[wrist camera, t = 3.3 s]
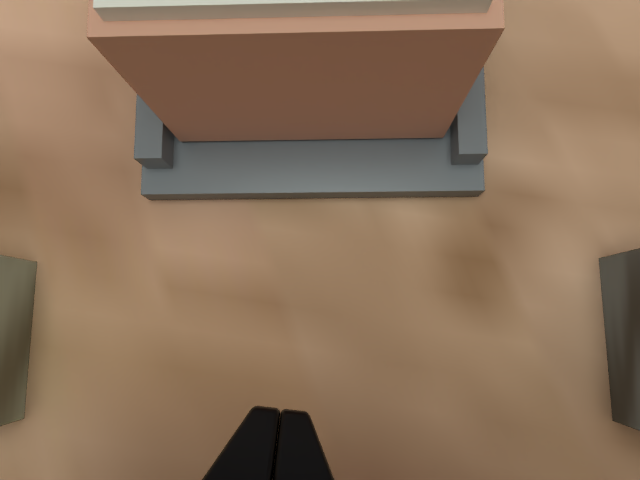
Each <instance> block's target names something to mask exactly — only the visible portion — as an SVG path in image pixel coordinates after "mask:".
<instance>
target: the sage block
mask: <svg viewBox="0 0 640 480" xmlns="http://www.w3.org/2000/svg"><path fill="white" fill-rule="evenodd" d="M36 269H37V262H34V261H29V260H24V259H19V258H13V257H8V256H3V255H0V426H2V425H5V424H8V423H11V422H14V421H18V420H21V419H24V413H25V401H26V389H27V377H28V365H29V353H30V341H31V329H32V317H33V305H34V293H35V281H36Z"/></svg>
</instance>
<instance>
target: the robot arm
mask: <svg viewBox="0 0 640 480" xmlns="http://www.w3.org/2000/svg"><path fill="white" fill-rule="evenodd" d="M279 420H280V423H279ZM278 428H279V431H278ZM277 437H278V439H277ZM276 445H277V447H276ZM275 453H276V455H275ZM274 461H275V463H274ZM273 470H274V471H273ZM272 478H273V479H272ZM202 480H334V478H333V475H332V473H331V470H330V467H329V465H328V462H327V459H326V457H325V454H324V452H323V449H322V446H321V444H320V441H319V438H318V436H317V433H316V430H315V428H314V425H313V423H312V420H311V417H310V415H309V414H308V413H307V412H305V411H298V410H289V409H284V410H282V412H281V415H280V411H279V409H277V408H272V407H263V406H255V407H253V408H252V409H251V410H250V411H249V413H248V414H247V416H246V417H245V419H244V420H243V422H242V423H241V424H240V426H239V427H238V429H237V430H236V432H235V433H234V435H233V436H232V437H231V439H230V440H229V442H228V443H227V445H226V446H225V447H224V449H223V450H222V452H221V453H220V455H219V456H218V458H217V459H216V460H215V462H214V463H213V465H212V466H211V468H210V469H209V470H208V472H207V473H206V475H205V476H204V478H203V479H202Z"/></svg>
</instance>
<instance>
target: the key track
mask: <svg viewBox="0 0 640 480" xmlns="http://www.w3.org/2000/svg"><path fill="white" fill-rule="evenodd" d="M487 154H488V149H487V128H486V107H485V85H484V66H483V68H482V70H481V71H480V73H479V75H478V77H477V79H476V80H475V82H474V84H473V86H472V87H471V89H470V91H469V93H468V95H467V96H466V98H465V100H464V102H463V104H462V105H461V107H460V109H459V111H458V112H457V114H456V116H455V118H454V120H453V121H452V123H451V125H450V127H449V129H448V130H447V132H446V134H445V136H444V137H443V138H391V139H323V140H255V141H187V142H180V141H179V140H178V139H177V138H176V137H175V135H174V134H173V133H172V132H171V131H170V130H169V129H168V128H167V126H166V125H165V124H164V123H163V122H162V121H161V120H160V119H159V118H158V116H157V115H156V114H155V113H154V112H153V111H152V110H151V109H150V107H149V106H148V105H147V104H146V103H145V102H144V101H143V100H142V99H141V97H140V96H139V95H138V94H137V101H136V123H135V145H134V159H135V160H137V161H138V162H139V163H140V164H142V181H141V195H143V196H144V197H146V198H147V199H149V200H190V199H280V198H371V197H462V196H479V195H480V194H481V193H482V192H484V191H485V187H484V165H483V158H484V157H485V156H486V155H487Z"/></svg>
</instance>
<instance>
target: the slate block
mask: <svg viewBox="0 0 640 480" xmlns="http://www.w3.org/2000/svg"><path fill="white" fill-rule="evenodd" d="M599 267H600V279H601V290H602V302H603V314H604V325H605V337H606V349H607V361H608V372H609V384H610V396H611V407H612V419H613V421H615V422H618V423H621V424H623V425H626V426H629V427H631V428H634V429H637V430H640V249H635V250H631V251H627V252H623V253H619V254H615V255H611V256H606V257H602V258H599Z"/></svg>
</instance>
